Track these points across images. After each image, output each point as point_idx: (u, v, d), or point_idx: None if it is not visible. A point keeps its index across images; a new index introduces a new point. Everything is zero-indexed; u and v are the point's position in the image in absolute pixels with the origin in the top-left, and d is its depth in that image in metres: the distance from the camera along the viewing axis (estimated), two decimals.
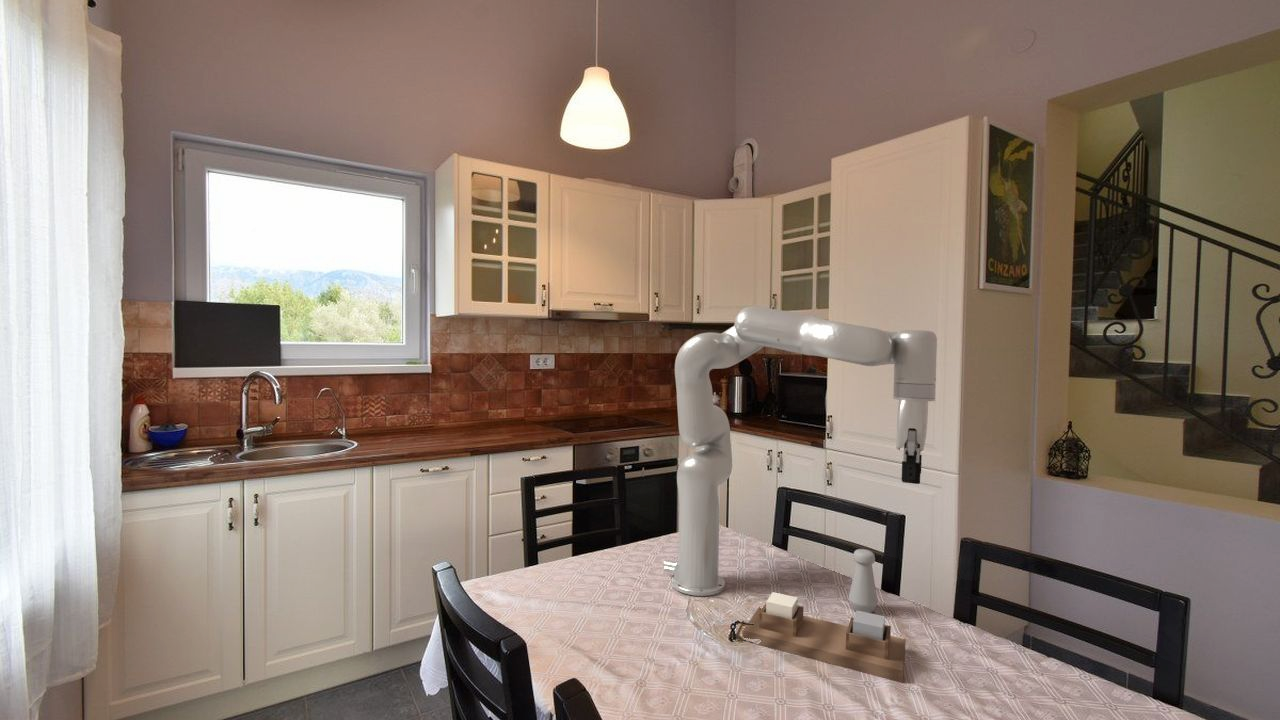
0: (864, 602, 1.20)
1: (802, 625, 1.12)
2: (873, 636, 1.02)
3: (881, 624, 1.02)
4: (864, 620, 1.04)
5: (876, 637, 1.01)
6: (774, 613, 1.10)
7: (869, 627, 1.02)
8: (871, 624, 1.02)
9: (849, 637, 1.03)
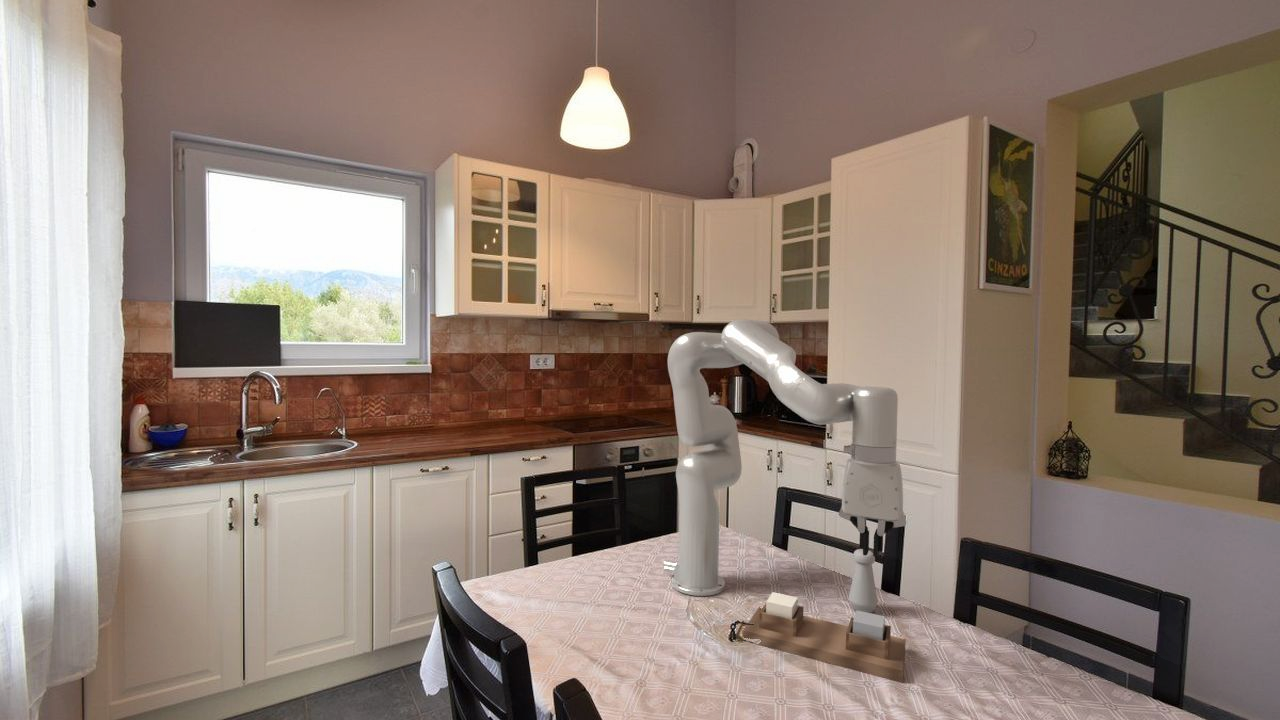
0: (864, 602, 1.20)
1: (802, 625, 1.12)
2: (873, 636, 1.02)
3: (881, 624, 1.02)
4: (864, 620, 1.04)
5: (876, 637, 1.01)
6: (774, 613, 1.10)
7: (869, 627, 1.02)
8: (871, 624, 1.02)
9: (849, 637, 1.03)
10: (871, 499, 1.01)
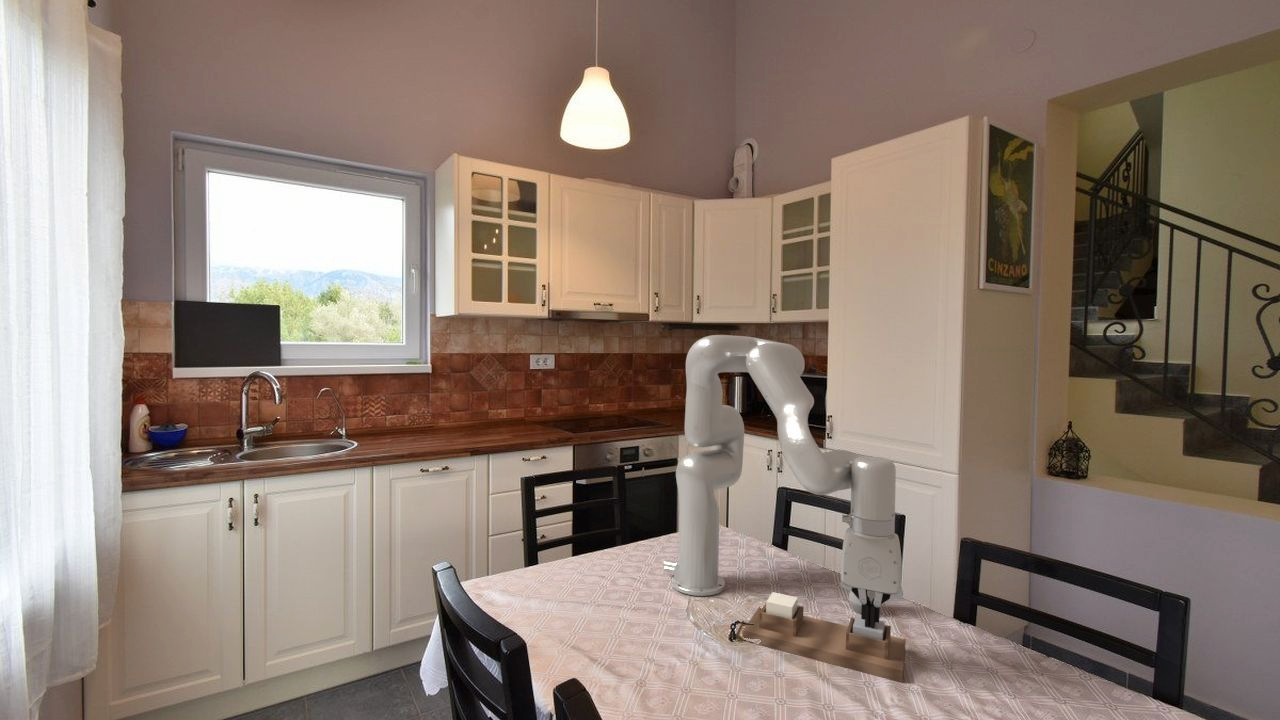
0: None
1: (802, 625, 1.12)
2: None
3: (881, 629, 1.02)
4: (863, 625, 1.04)
5: None
6: (774, 613, 1.10)
7: (869, 632, 1.02)
8: (870, 629, 1.02)
9: (849, 637, 1.03)
10: (869, 571, 1.02)
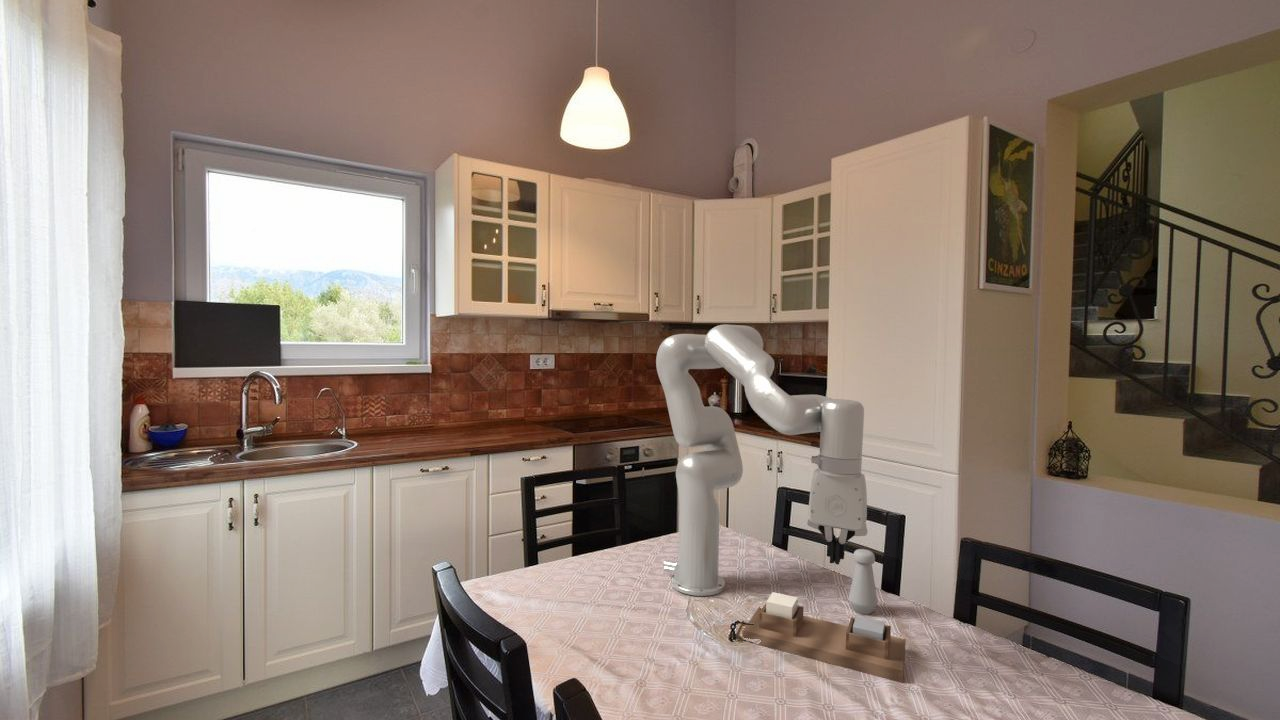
0: (864, 602, 1.20)
1: (802, 625, 1.12)
2: None
3: (881, 630, 1.02)
4: (863, 625, 1.04)
5: None
6: (774, 613, 1.10)
7: (869, 632, 1.02)
8: (870, 630, 1.02)
9: (849, 637, 1.03)
10: (835, 509, 1.04)
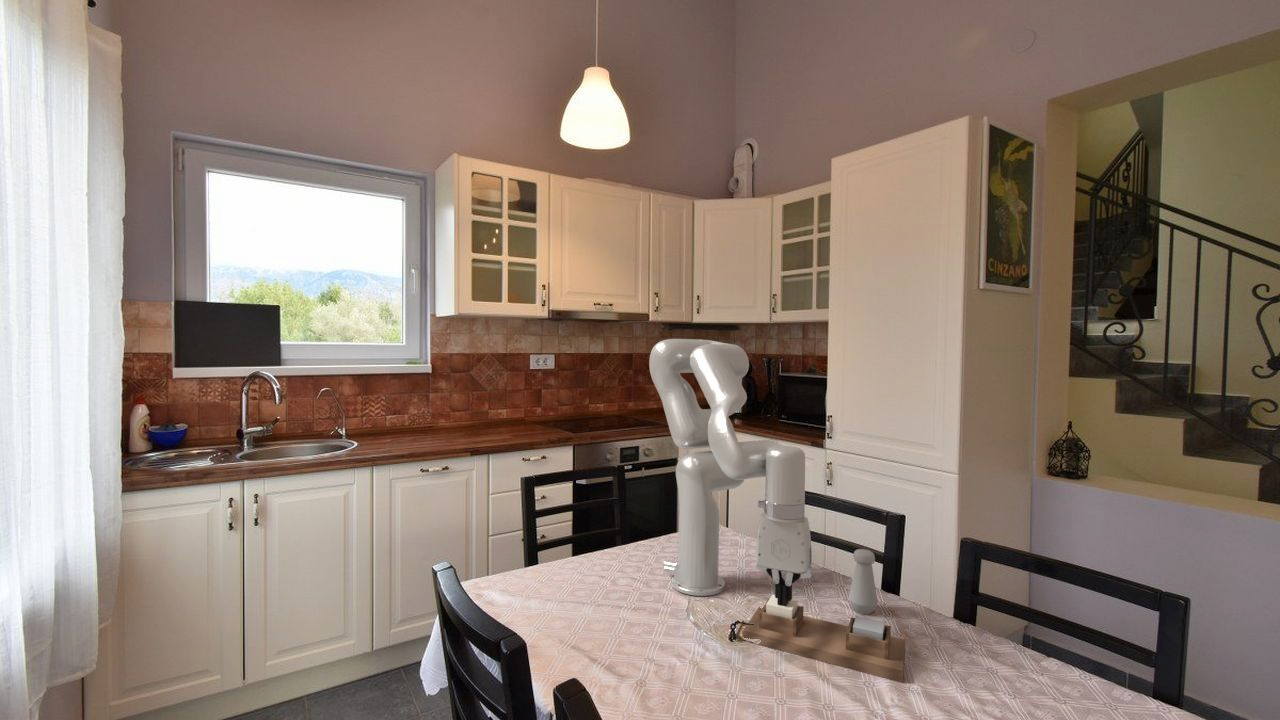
0: (864, 602, 1.20)
1: (802, 625, 1.12)
2: None
3: (881, 630, 1.02)
4: (863, 625, 1.04)
5: None
6: None
7: (869, 632, 1.02)
8: (870, 630, 1.02)
9: (849, 637, 1.03)
10: (780, 552, 1.09)
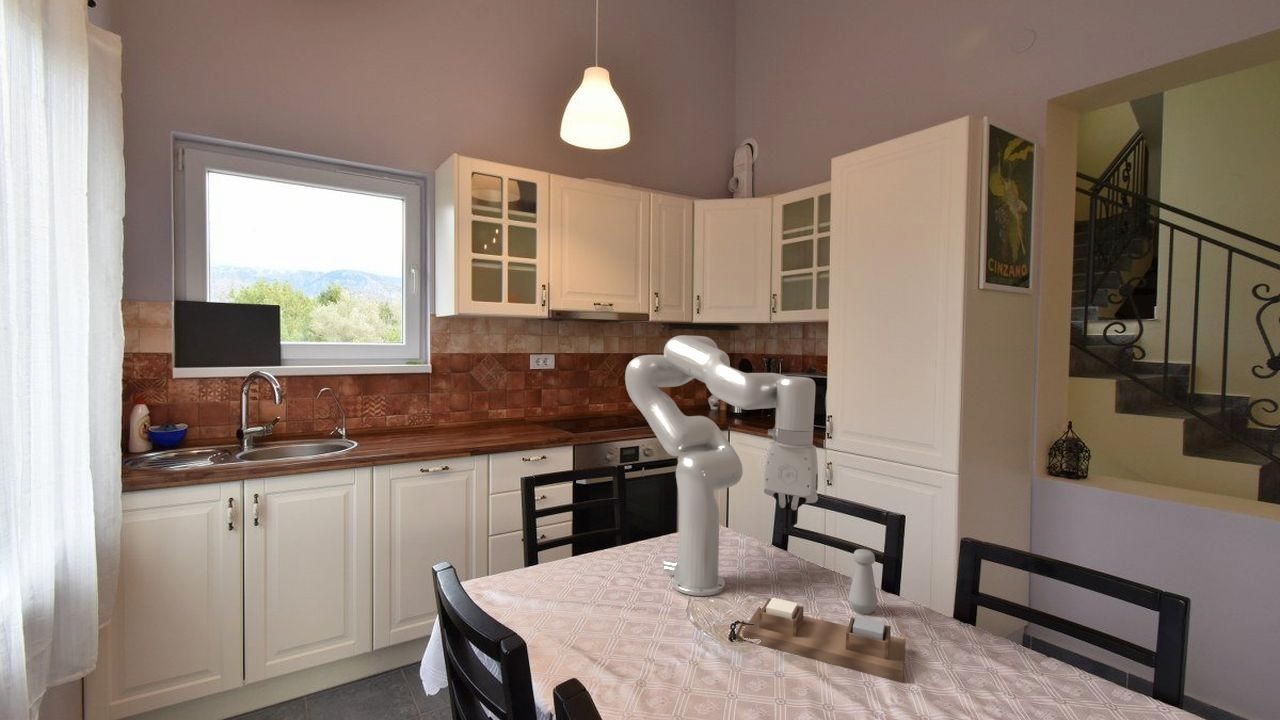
0: (864, 602, 1.20)
1: (802, 625, 1.12)
2: None
3: (881, 630, 1.02)
4: (863, 625, 1.04)
5: None
6: None
7: (869, 632, 1.02)
8: (870, 630, 1.02)
9: (849, 637, 1.03)
10: (787, 477, 1.13)
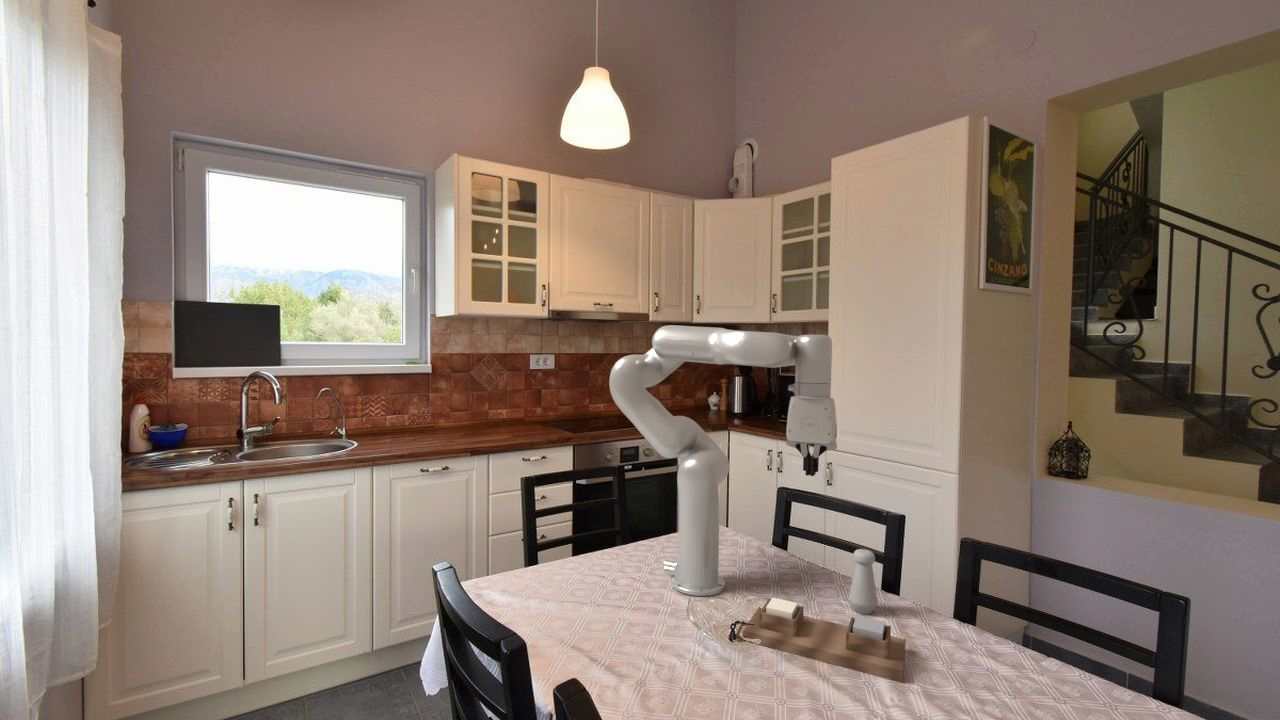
0: (864, 602, 1.20)
1: (802, 625, 1.12)
2: None
3: (881, 630, 1.02)
4: (863, 625, 1.04)
5: None
6: None
7: (869, 632, 1.02)
8: (870, 630, 1.02)
9: (849, 637, 1.03)
10: (809, 427, 1.21)
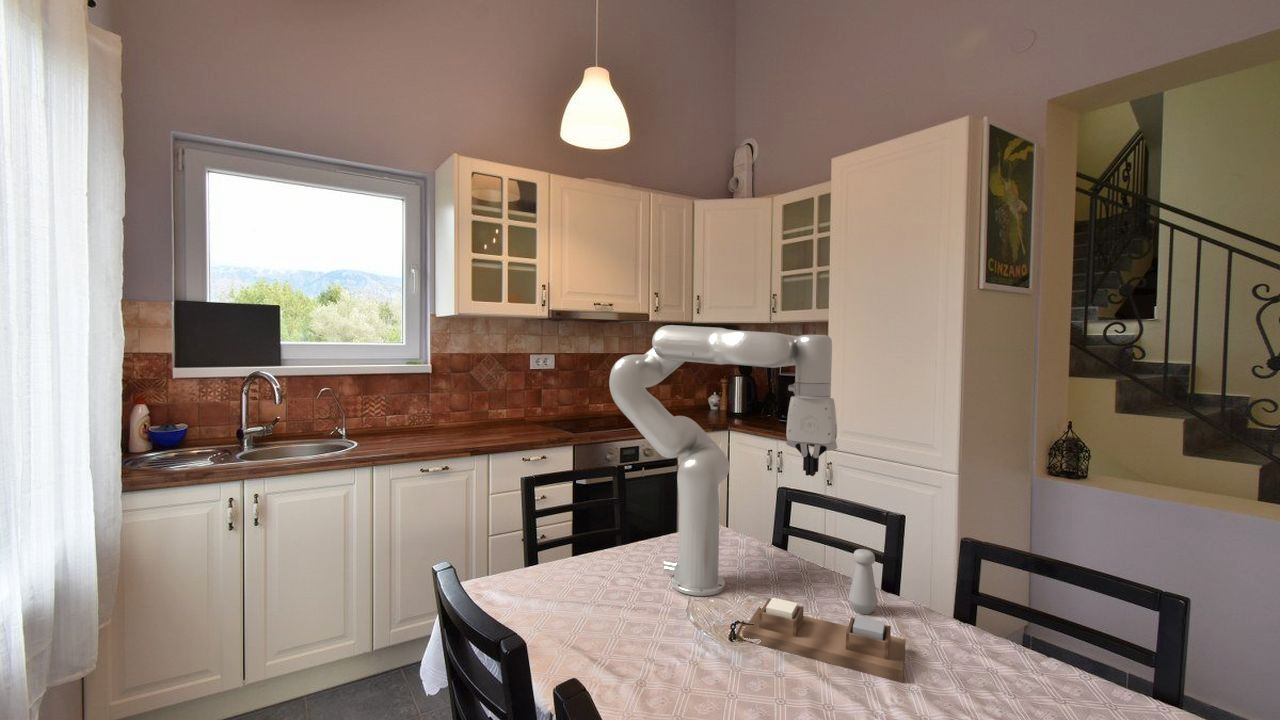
0: (864, 602, 1.20)
1: (802, 625, 1.12)
2: None
3: (881, 630, 1.02)
4: (863, 625, 1.04)
5: None
6: None
7: (869, 632, 1.02)
8: (870, 630, 1.02)
9: (849, 637, 1.03)
10: (809, 427, 1.21)
